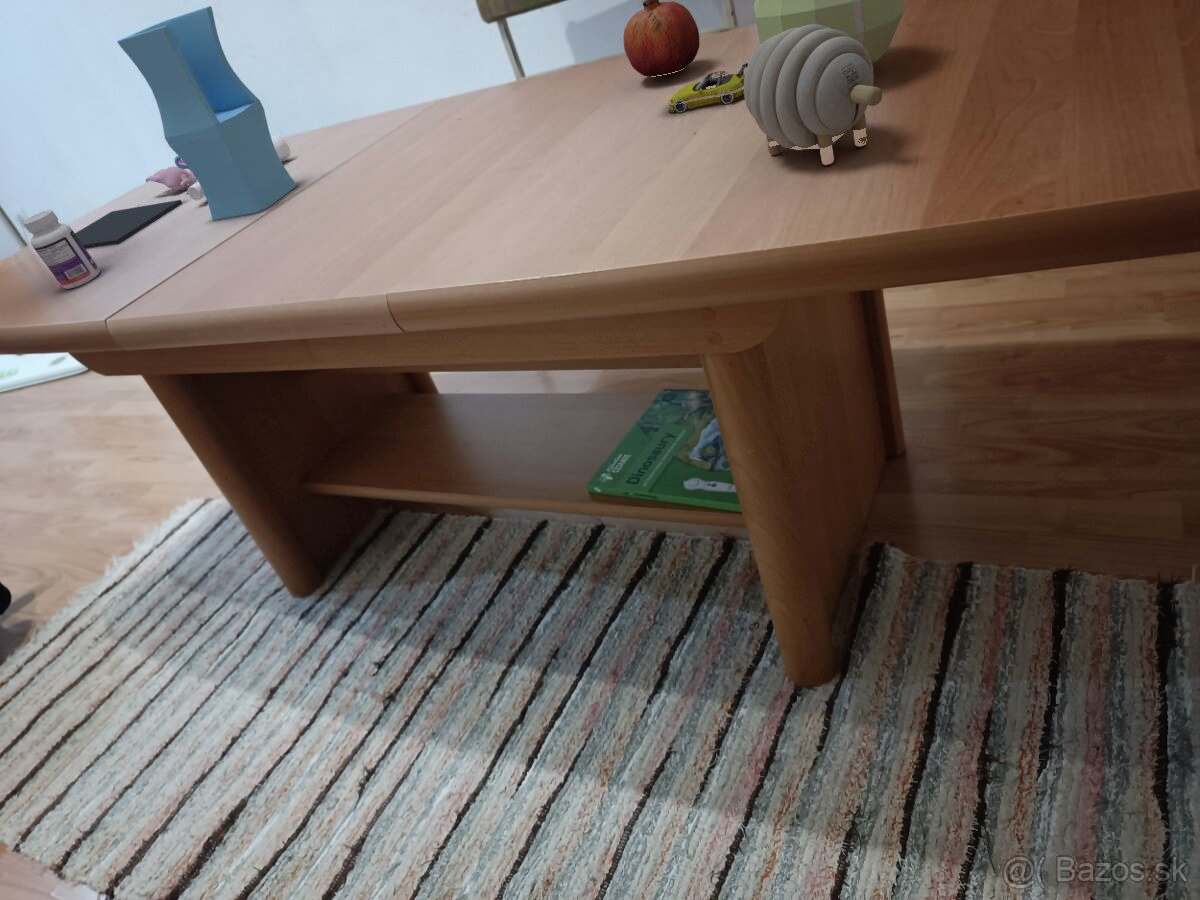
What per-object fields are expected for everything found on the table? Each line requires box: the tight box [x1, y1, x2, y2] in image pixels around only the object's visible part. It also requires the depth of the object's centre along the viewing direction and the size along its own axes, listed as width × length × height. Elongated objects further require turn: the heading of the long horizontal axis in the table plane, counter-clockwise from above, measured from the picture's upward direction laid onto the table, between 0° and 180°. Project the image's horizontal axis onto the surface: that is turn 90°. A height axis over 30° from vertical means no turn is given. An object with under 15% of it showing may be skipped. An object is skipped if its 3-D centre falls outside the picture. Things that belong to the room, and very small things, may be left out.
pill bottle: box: [22, 209, 101, 290], centre depth 119 cm, size 5×5×10 cm
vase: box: [116, 5, 298, 221], centre depth 122 cm, size 10×10×25 cm
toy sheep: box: [740, 24, 883, 156], centre depth 79 cm, size 11×17×11 cm, turn 35°
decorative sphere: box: [753, 0, 906, 65], centre depth 93 cm, size 15×15×15 cm
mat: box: [74, 199, 183, 249], centre depth 142 cm, size 18×14×1 cm
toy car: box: [667, 62, 749, 114], centre depth 103 cm, size 5×10×3 cm, turn 71°
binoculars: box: [187, 134, 291, 201], centre depth 140 cm, size 10×16×5 cm, turn 163°
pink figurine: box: [145, 155, 197, 191], centre depth 148 cm, size 6×6×15 cm
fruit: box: [622, 0, 700, 79], centre depth 115 cm, size 11×10×10 cm
